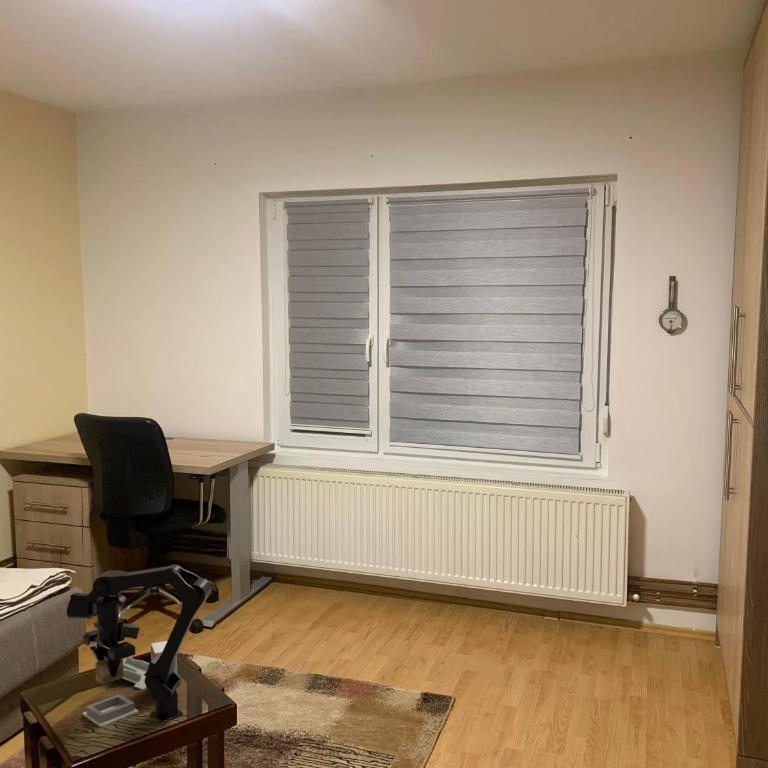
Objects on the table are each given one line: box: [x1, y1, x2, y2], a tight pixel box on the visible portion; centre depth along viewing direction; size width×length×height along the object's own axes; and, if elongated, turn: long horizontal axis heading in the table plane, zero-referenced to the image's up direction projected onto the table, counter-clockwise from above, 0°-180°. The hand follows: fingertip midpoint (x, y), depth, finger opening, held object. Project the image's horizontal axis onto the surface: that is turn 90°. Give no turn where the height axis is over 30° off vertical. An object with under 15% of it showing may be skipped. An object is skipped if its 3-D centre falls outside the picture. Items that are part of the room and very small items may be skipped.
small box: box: [150, 640, 178, 693], centre depth 228 cm, size 8×6×13 cm
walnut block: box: [94, 658, 124, 685], centre depth 214 cm, size 4×6×5 cm, turn 137°
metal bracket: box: [122, 656, 150, 691], centre depth 237 cm, size 14×6×15 cm
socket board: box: [82, 694, 139, 728], centre depth 214 cm, size 10×11×2 cm
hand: (109, 674), depth 214 cm, fingers closed on walnut block, 4 cm apart
